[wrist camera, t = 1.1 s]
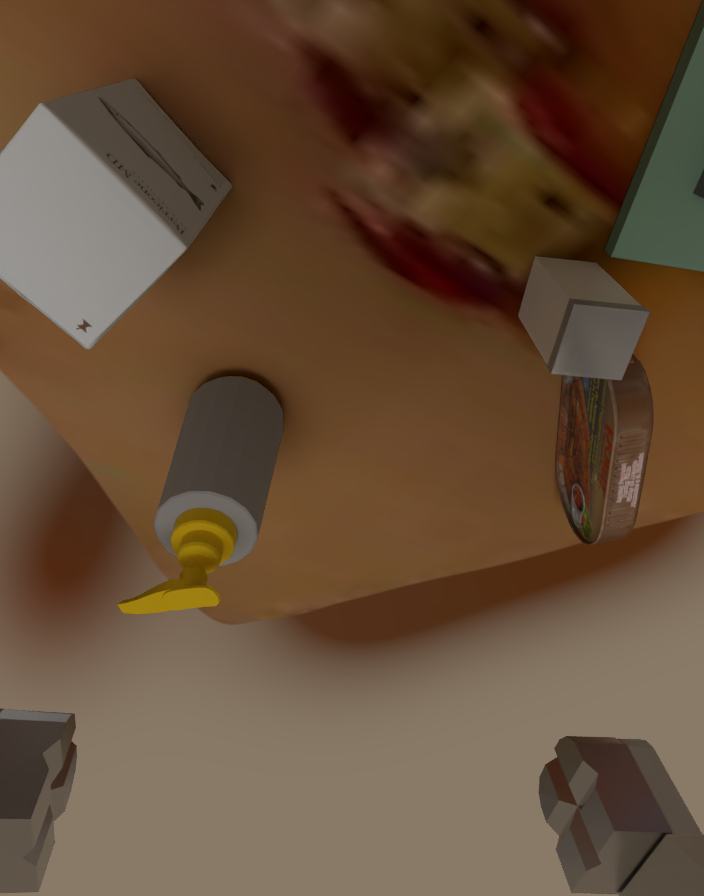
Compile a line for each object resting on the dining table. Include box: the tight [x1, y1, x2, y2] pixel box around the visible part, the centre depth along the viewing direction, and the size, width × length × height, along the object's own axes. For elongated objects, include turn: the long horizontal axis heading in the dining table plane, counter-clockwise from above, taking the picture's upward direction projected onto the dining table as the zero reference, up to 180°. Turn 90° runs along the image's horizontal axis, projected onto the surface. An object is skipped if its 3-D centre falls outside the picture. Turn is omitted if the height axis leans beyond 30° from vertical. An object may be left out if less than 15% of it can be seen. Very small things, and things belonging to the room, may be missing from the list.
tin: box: [556, 354, 653, 545], centre depth 42 cm, size 15×3×8 cm, turn 7°
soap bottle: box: [118, 376, 284, 614], centre depth 37 cm, size 7×7×18 cm
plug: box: [518, 256, 650, 380], centre depth 36 cm, size 4×4×8 cm
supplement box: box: [0, 79, 232, 349], centre depth 30 cm, size 7×7×13 cm
